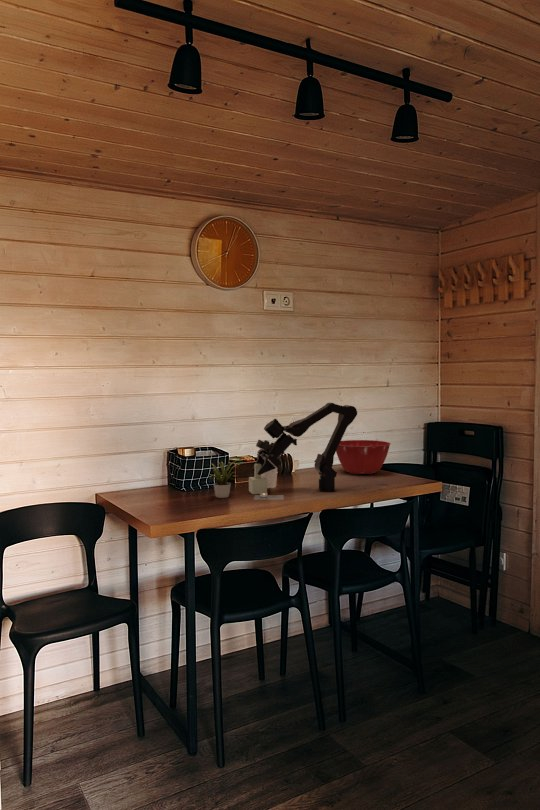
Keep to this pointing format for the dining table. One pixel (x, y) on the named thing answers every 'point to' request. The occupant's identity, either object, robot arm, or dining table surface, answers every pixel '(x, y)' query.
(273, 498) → the slate mat
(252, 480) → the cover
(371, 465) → the mixing bowl
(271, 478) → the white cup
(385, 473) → the dining table surface
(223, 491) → the house plant
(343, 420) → the robot arm
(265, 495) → the tea light
